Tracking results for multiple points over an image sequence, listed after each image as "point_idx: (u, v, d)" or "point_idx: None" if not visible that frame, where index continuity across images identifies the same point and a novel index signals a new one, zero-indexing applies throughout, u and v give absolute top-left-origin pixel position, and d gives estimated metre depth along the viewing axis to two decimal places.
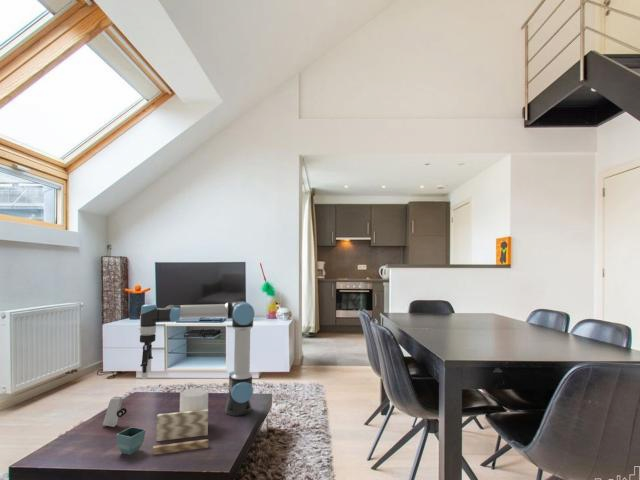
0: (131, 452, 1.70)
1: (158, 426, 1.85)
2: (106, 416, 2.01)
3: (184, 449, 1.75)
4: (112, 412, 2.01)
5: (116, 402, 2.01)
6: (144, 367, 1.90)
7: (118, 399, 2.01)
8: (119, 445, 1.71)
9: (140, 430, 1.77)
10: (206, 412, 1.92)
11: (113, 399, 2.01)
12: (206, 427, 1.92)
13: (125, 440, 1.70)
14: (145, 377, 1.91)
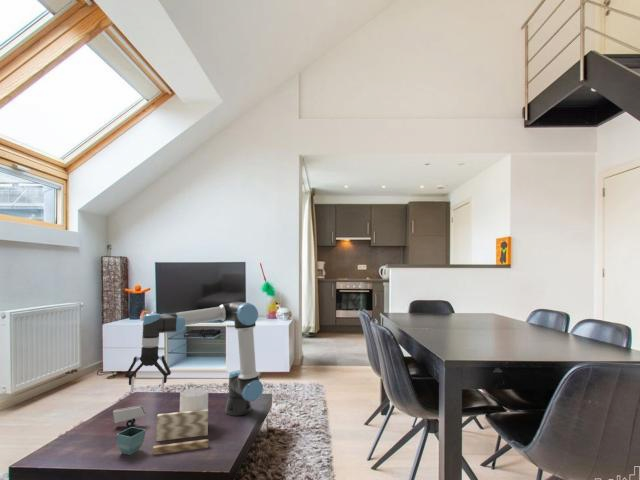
0: (131, 452, 1.70)
1: (158, 426, 1.85)
2: (122, 411, 2.01)
3: (184, 449, 1.75)
4: (128, 415, 2.01)
5: (139, 414, 2.02)
6: None
7: (142, 414, 2.02)
8: (119, 445, 1.71)
9: (140, 430, 1.77)
10: (206, 412, 1.92)
11: (140, 410, 2.02)
12: (206, 427, 1.92)
13: (125, 440, 1.70)
14: (131, 390, 1.80)
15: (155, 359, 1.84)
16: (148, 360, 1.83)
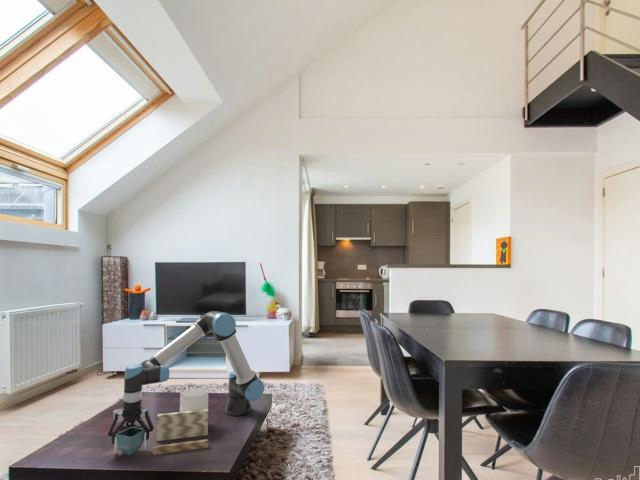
0: (131, 452, 1.70)
1: (158, 426, 1.85)
2: (122, 411, 2.01)
3: (184, 449, 1.75)
4: None
5: None
6: None
7: (142, 414, 2.02)
8: (119, 445, 1.71)
9: (140, 430, 1.77)
10: (206, 412, 1.92)
11: None
12: (206, 427, 1.92)
13: (125, 440, 1.70)
14: None
15: (138, 414, 1.75)
16: (131, 415, 1.74)
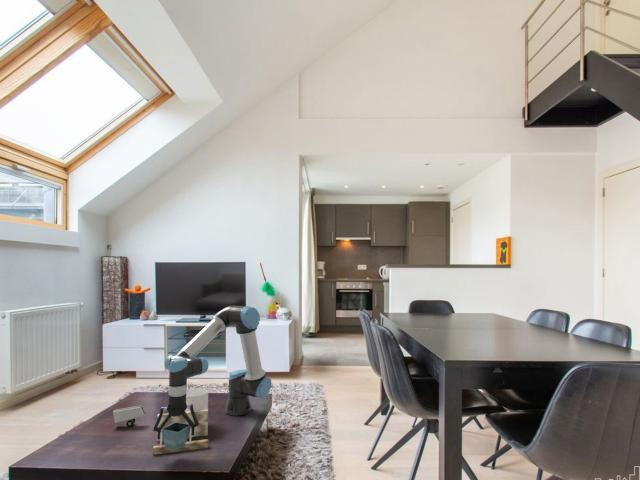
0: (177, 448, 1.65)
1: (158, 426, 1.85)
2: (122, 411, 2.01)
3: (184, 449, 1.75)
4: (128, 415, 2.01)
5: (139, 414, 2.02)
6: None
7: (142, 414, 2.02)
8: (165, 440, 1.66)
9: (185, 425, 1.72)
10: (206, 412, 1.92)
11: (140, 410, 2.02)
12: (206, 427, 1.92)
13: (171, 435, 1.65)
14: (160, 445, 1.66)
15: (183, 408, 1.70)
16: (176, 410, 1.69)
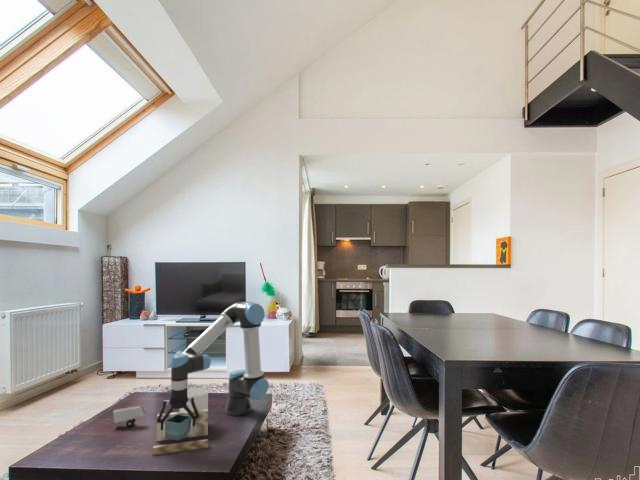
0: (179, 438, 1.77)
1: (158, 426, 1.85)
2: (122, 411, 2.01)
3: (184, 449, 1.75)
4: (128, 415, 2.01)
5: (139, 414, 2.02)
6: None
7: (142, 414, 2.02)
8: (168, 431, 1.77)
9: (186, 417, 1.84)
10: (206, 412, 1.92)
11: (140, 410, 2.02)
12: (206, 427, 1.92)
13: (174, 426, 1.76)
14: (163, 435, 1.78)
15: (185, 401, 1.81)
16: (178, 403, 1.80)
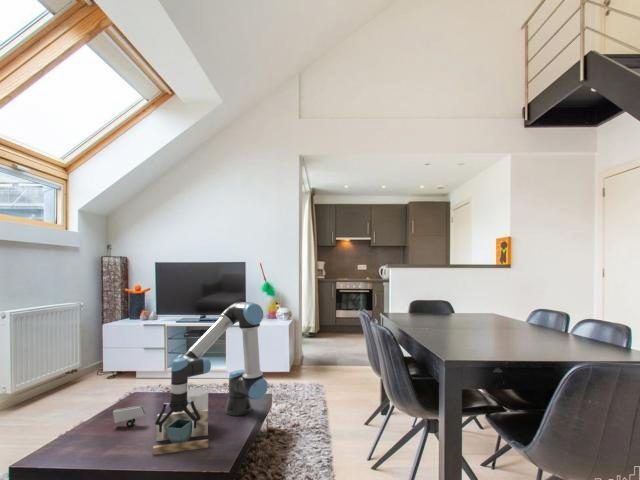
0: None
1: (158, 426, 1.85)
2: (122, 411, 2.01)
3: (184, 449, 1.75)
4: (128, 415, 2.01)
5: (139, 414, 2.02)
6: (159, 426, 1.80)
7: (142, 414, 2.02)
8: (170, 437, 1.79)
9: (187, 421, 1.86)
10: (206, 412, 1.92)
11: (140, 410, 2.02)
12: (206, 427, 1.92)
13: (175, 432, 1.78)
14: None
15: (184, 405, 1.83)
16: (178, 406, 1.82)
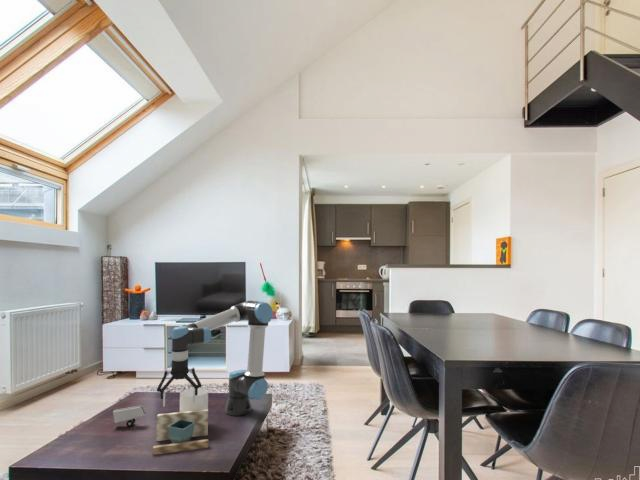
0: None
1: (158, 426, 1.85)
2: (122, 411, 2.01)
3: (184, 449, 1.75)
4: (128, 415, 2.01)
5: (139, 414, 2.02)
6: None
7: (142, 414, 2.02)
8: (171, 437, 1.80)
9: (189, 423, 1.86)
10: (206, 412, 1.92)
11: (140, 410, 2.02)
12: (206, 427, 1.92)
13: (177, 432, 1.78)
14: (163, 404, 1.81)
15: (185, 372, 1.84)
16: (179, 373, 1.83)
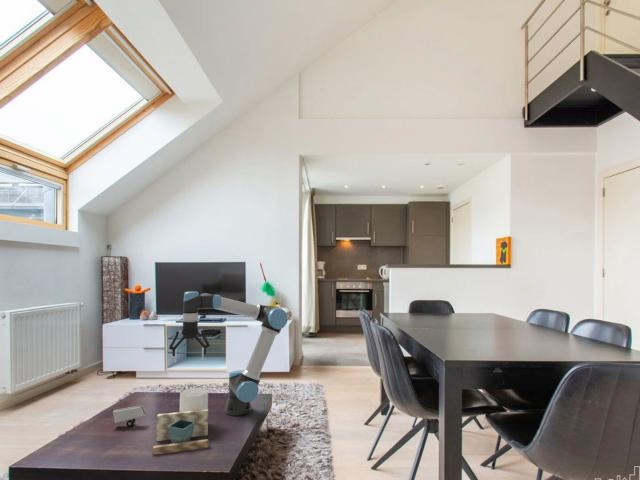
0: None
1: (158, 426, 1.85)
2: (122, 411, 2.01)
3: (184, 449, 1.75)
4: (128, 415, 2.01)
5: (139, 414, 2.02)
6: None
7: (142, 414, 2.02)
8: (171, 437, 1.80)
9: (189, 423, 1.86)
10: (206, 412, 1.92)
11: (140, 410, 2.02)
12: (206, 427, 1.92)
13: (177, 432, 1.78)
14: None
15: (195, 333, 2.01)
16: (189, 333, 2.00)
